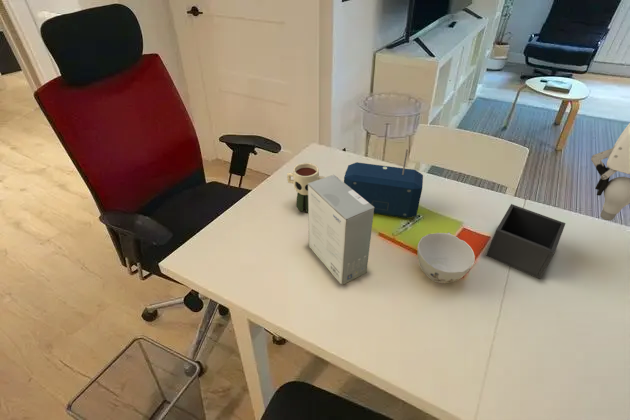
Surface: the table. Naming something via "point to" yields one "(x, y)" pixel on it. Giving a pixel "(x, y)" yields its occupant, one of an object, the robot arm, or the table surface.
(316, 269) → the table surface
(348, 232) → the hard drive box
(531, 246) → the bin
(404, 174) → the radio
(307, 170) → the character mug
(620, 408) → the table surface
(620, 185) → the lightbulb
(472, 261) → the teacup
